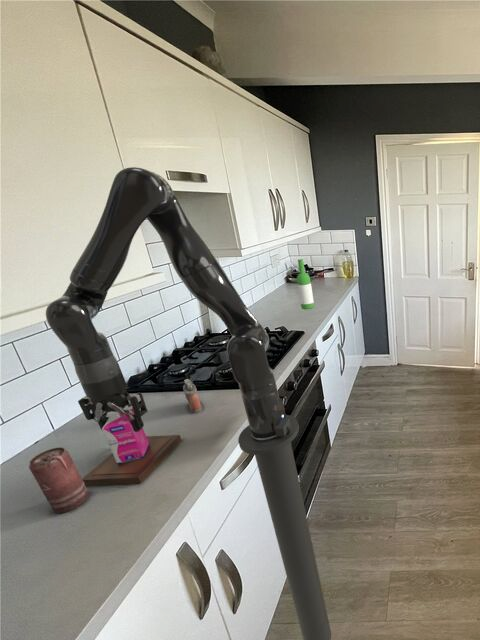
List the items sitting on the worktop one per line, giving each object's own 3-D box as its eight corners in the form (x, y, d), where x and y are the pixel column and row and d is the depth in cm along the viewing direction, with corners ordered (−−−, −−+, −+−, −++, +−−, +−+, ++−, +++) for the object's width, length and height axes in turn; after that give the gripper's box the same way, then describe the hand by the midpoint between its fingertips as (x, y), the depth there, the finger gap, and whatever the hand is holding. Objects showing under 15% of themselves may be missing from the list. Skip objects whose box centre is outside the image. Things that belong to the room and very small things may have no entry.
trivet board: (181, 440, 101) (179, 434, 100) (141, 483, 86) (138, 476, 85) (132, 442, 101) (130, 436, 100) (83, 486, 86) (80, 479, 85)
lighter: (187, 404, 119) (179, 378, 115) (198, 400, 121) (190, 375, 117) (192, 414, 113) (183, 388, 109) (204, 410, 115) (195, 383, 112)
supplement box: (116, 465, 89) (100, 429, 85) (124, 450, 94) (109, 415, 90) (144, 458, 91) (129, 422, 87) (150, 444, 96) (136, 409, 92)
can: (76, 513, 79) (50, 464, 74) (46, 515, 78) (18, 466, 73) (97, 491, 84) (75, 445, 79) (70, 493, 84) (45, 447, 79)
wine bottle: (298, 308, 214) (290, 260, 203) (308, 305, 220) (301, 258, 209) (307, 310, 210) (299, 261, 199) (317, 307, 216) (310, 259, 205)
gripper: (142, 366, 88) (162, 420, 94) (84, 368, 87) (107, 422, 93) (118, 381, 81) (141, 439, 87) (55, 384, 80) (82, 441, 86)
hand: (124, 430), depth 90 cm, fingers closed on supplement box, 7 cm apart
